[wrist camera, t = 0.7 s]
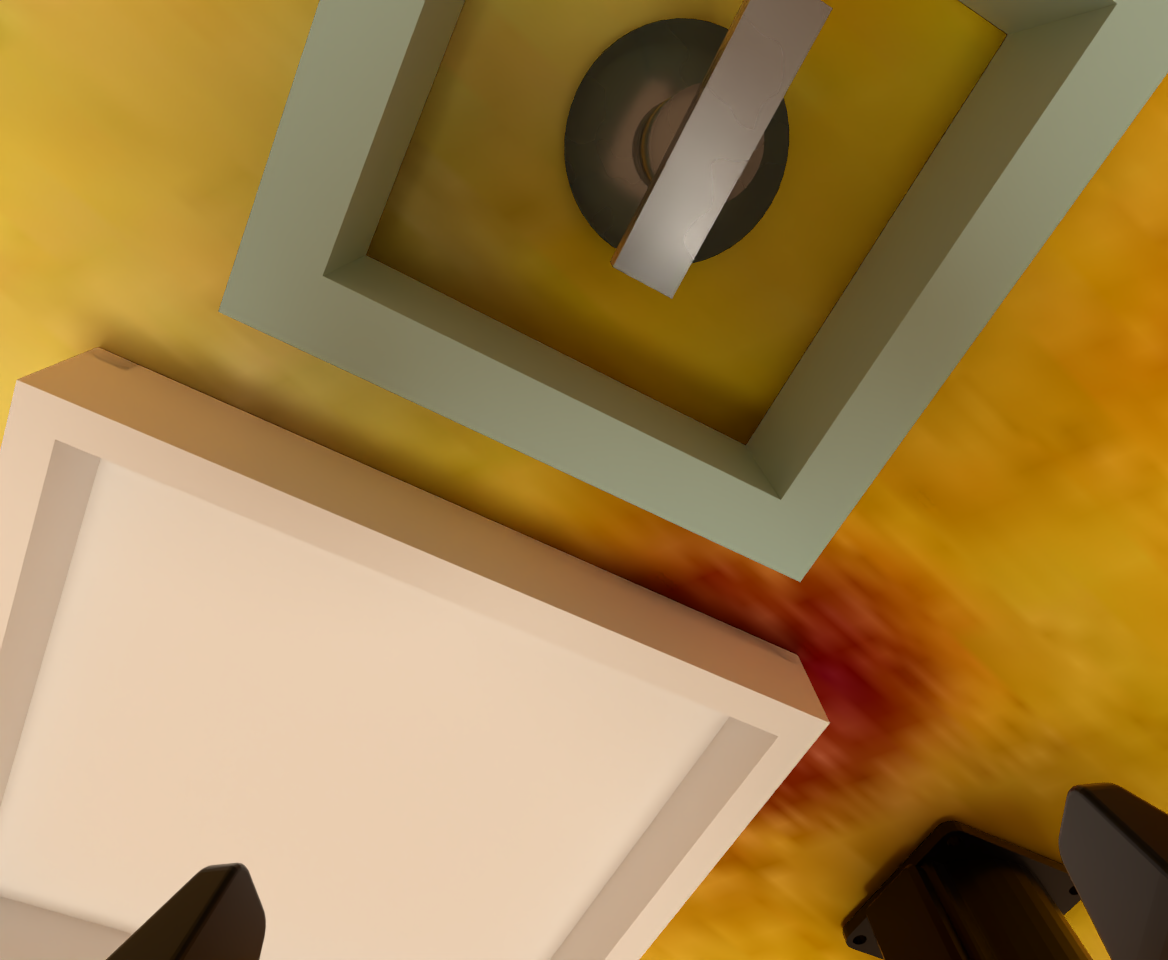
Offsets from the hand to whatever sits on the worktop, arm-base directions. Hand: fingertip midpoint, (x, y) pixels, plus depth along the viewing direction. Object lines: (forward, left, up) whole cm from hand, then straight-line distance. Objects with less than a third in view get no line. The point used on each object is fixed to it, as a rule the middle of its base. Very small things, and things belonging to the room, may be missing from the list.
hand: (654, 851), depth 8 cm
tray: (+2, +14, -13) cm, 19 cm away
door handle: (+2, -7, -13) cm, 15 cm away
